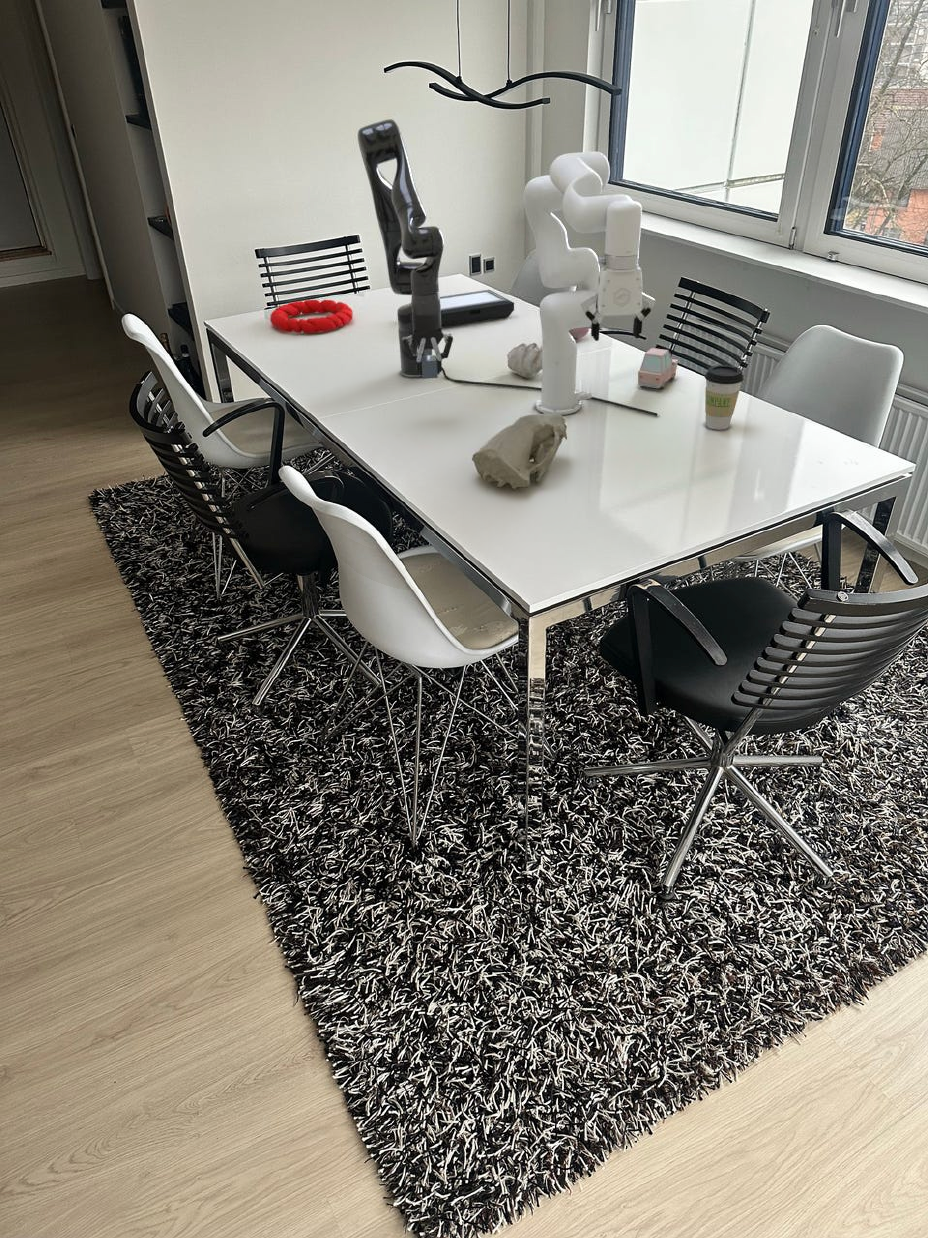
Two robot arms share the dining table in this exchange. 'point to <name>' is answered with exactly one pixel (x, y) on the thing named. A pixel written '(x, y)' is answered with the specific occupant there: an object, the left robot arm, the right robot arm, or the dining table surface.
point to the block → (429, 367)
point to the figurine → (578, 332)
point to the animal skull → (521, 450)
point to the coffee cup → (721, 395)
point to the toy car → (657, 368)
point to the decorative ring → (313, 324)
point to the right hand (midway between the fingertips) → (615, 337)
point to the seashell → (525, 360)
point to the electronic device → (474, 308)
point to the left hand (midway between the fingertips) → (429, 373)
